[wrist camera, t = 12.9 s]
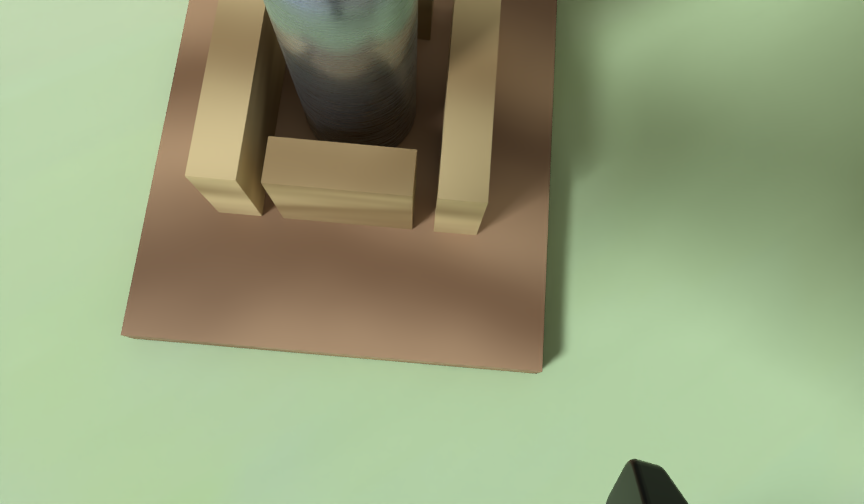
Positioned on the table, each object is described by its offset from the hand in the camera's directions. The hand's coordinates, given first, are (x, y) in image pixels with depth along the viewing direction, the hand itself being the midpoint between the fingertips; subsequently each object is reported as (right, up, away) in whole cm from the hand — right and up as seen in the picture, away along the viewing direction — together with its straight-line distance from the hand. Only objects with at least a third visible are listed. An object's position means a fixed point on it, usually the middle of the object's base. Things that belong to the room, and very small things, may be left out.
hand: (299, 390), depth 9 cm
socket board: (-1, +7, +16) cm, 17 cm away
